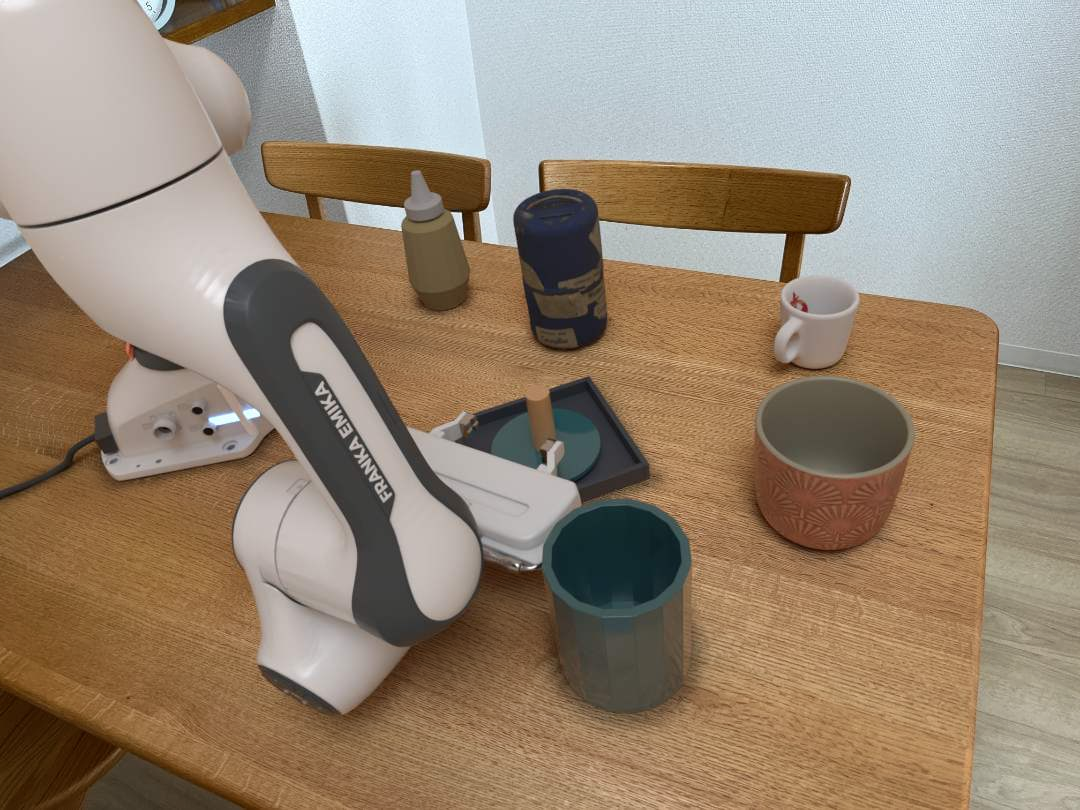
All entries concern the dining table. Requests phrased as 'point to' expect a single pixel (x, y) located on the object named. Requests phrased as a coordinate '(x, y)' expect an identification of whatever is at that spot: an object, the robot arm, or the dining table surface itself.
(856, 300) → the cup
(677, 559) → the faceted pencil holder
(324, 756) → the dining table surface
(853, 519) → the planter
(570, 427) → the teal lid with handle
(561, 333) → the canister
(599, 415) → the tray
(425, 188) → the squeeze bottle
